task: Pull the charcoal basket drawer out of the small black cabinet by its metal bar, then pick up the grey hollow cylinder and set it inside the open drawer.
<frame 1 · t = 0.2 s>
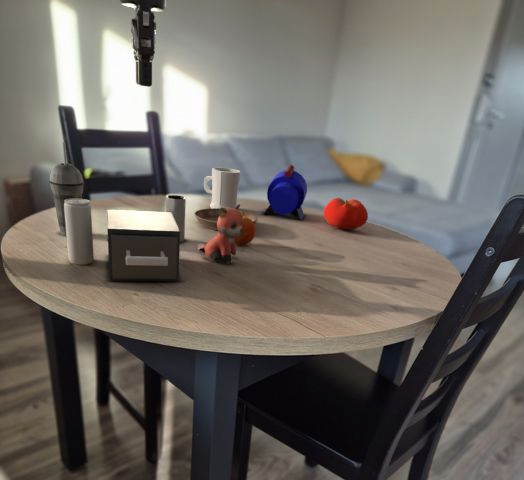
hand: (143, 85, 85), 33 cm above the table, tool pointing down, fingers open, 8 cm apart
tomato: (341, 229, 148), on the table
grey hollow cylinder: (175, 240, 118), on the table
cabinet: (142, 268, 98), on the table
beverage can: (81, 262, 97), on the table
fruit: (240, 245, 121), on the table
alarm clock: (283, 215, 157), on the table
plant saucer: (225, 226, 136), on the table
beverage cup: (70, 234, 113), on the table
stuffed fox: (217, 258, 109), on the table
drawer: (143, 251, 91), point 5 cm above the table, slide at 0.0 cm
cup: (221, 209, 154), on the table
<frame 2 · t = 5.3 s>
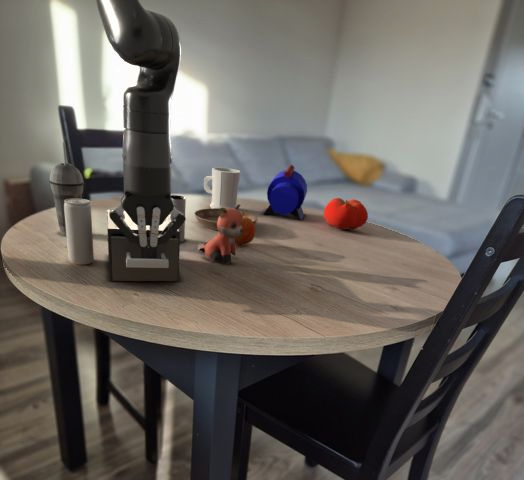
hand: (148, 266, 84), 5 cm above the table, tool pointing down, fingers closed
drawer: (144, 253, 90), point 5 cm above the table, slide at 1.2 cm
everything else where it was.
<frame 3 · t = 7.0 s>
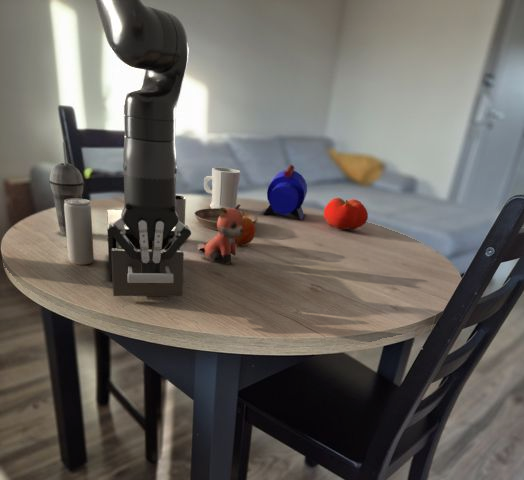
hand: (150, 283, 79), 5 cm above the table, tool pointing down, fingers closed
drawer: (146, 266, 84), point 5 cm above the table, slide at 8.4 cm, touching gripper
everything else where it was.
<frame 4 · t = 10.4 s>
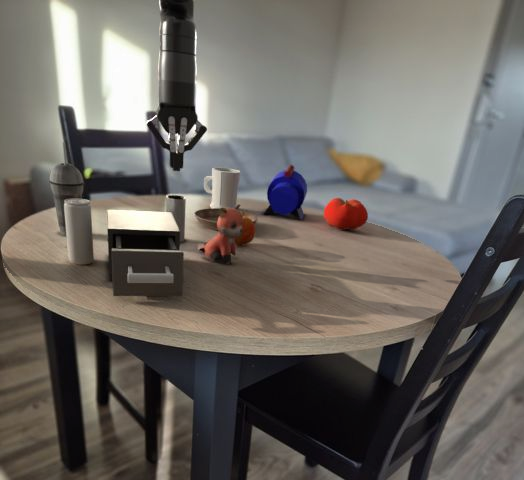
hand: (176, 170, 104), 17 cm above the table, tool pointing down, fingers closed
drawer: (146, 266, 84), point 5 cm above the table, slide at 8.5 cm
everything else where it was.
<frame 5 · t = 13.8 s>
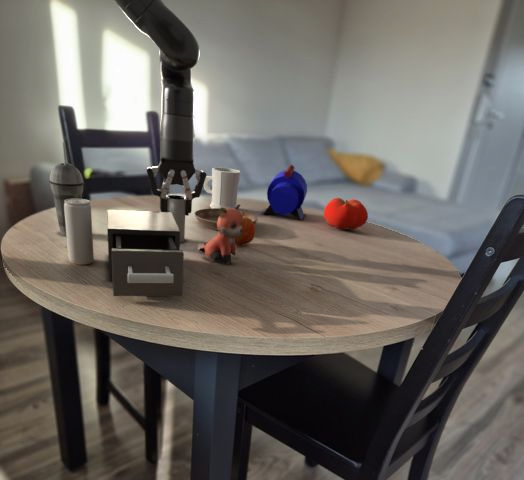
hand: (175, 214, 115), 6 cm above the table, tool pointing down, fingers closed on grey hollow cylinder, 4 cm apart
grey hollow cylinder: (174, 240, 118), on the table, touching gripper
everything else where it was.
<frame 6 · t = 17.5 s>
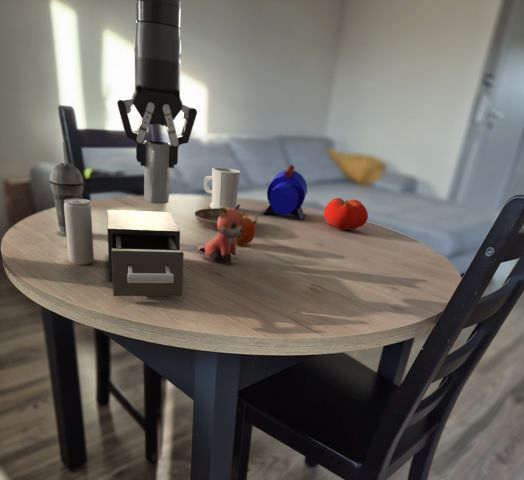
hand: (156, 165, 88), 20 cm above the table, tool pointing down, fingers closed on grey hollow cylinder, 4 cm apart
grey hollow cylinder: (156, 202, 91), point 14 cm above the table, touching gripper
everything else where it was.
when the fingers open (8 cm above the table, at t = 21.6 s): grey hollow cylinder stays where it is, resting on drawer.
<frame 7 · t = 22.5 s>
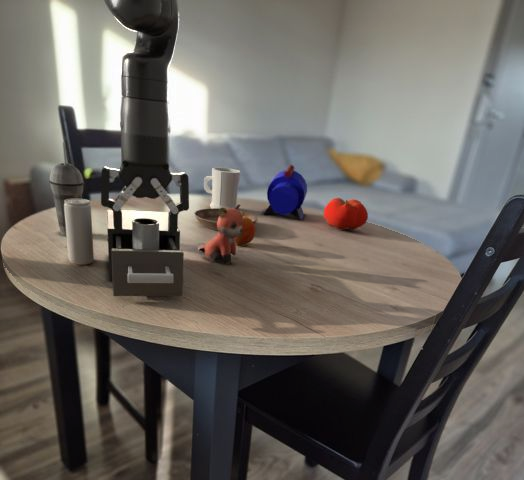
hand: (145, 233, 83), 10 cm above the table, tool pointing down, fingers open, 8 cm apart
grey hollow cylinder: (146, 279, 87), point 2 cm above the table, touching drawer
drawer: (146, 266, 84), point 5 cm above the table, slide at 8.5 cm, touching grey hollow cylinder
everything else where it was.
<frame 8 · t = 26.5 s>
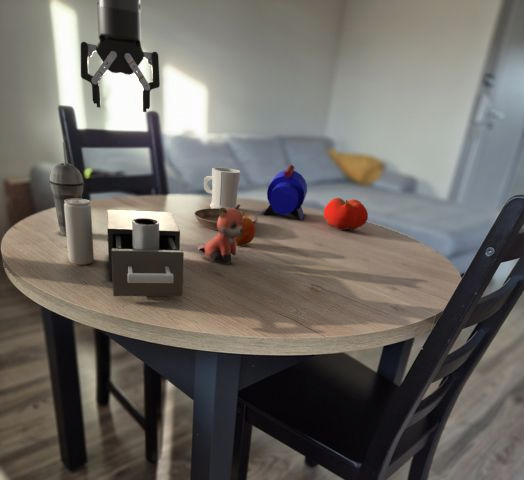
hand: (121, 109, 94), 28 cm above the table, tool pointing down, fingers open, 8 cm apart
nothing on the table moved.
at the end: drawer slide at 8.5 cm; grey hollow cylinder inside the target area in the drawer (0.3 cm from its centre), point 1.9 cm above the cabinet's base; grey hollow cylinder tilted 0° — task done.
